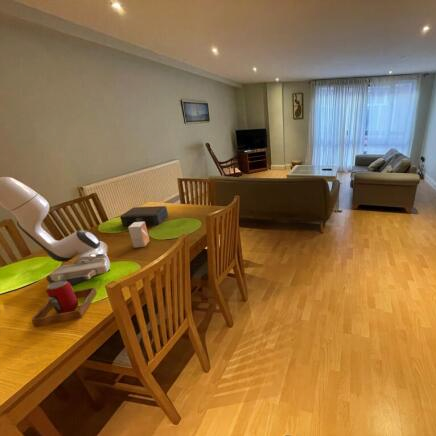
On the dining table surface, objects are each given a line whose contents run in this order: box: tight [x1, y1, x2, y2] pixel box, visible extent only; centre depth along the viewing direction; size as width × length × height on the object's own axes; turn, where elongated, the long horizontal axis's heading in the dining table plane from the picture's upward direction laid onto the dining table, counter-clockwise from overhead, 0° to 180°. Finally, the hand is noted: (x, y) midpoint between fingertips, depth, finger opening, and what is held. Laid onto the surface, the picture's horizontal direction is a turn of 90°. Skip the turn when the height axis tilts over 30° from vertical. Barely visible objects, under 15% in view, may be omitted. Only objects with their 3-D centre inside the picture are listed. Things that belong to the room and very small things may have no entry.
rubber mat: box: [46, 268, 111, 287], centre depth 116 cm, size 20×18×1 cm
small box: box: [127, 222, 150, 248], centre depth 141 cm, size 8×6×13 cm
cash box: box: [120, 205, 169, 227], centre depth 176 cm, size 25×20×8 cm
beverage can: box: [46, 280, 80, 314], centre depth 92 cm, size 7×7×12 cm
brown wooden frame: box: [31, 287, 98, 328], centre depth 94 cm, size 14×14×3 cm
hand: (73, 280), depth 100 cm, fingers open, 8 cm apart
